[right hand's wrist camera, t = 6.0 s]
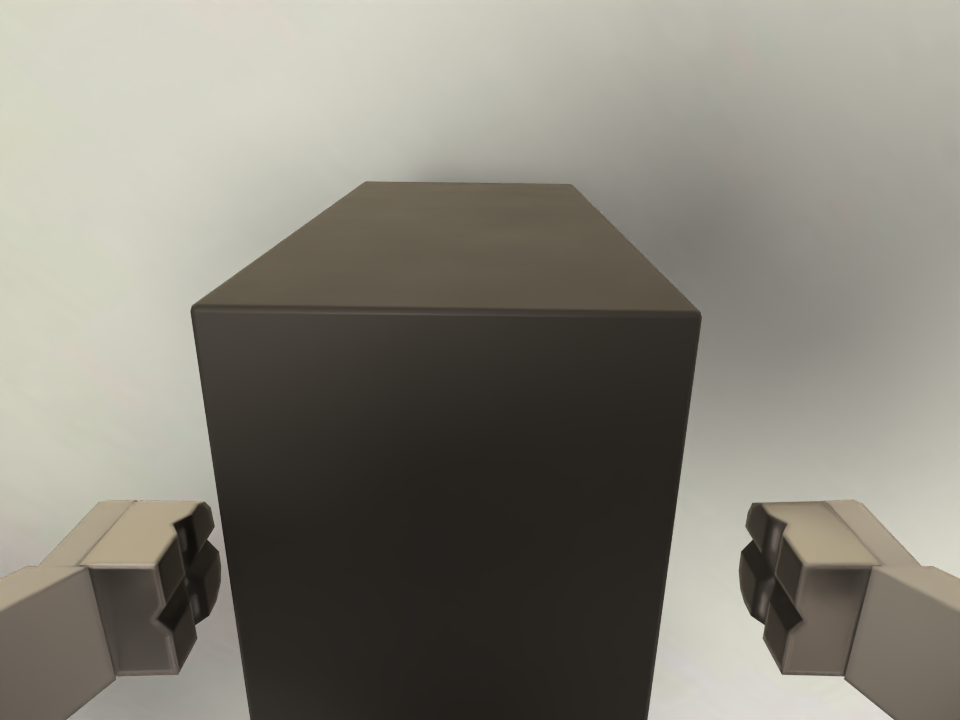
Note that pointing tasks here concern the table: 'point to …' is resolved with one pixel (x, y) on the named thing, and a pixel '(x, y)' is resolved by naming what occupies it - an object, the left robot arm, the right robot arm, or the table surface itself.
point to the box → (448, 456)
